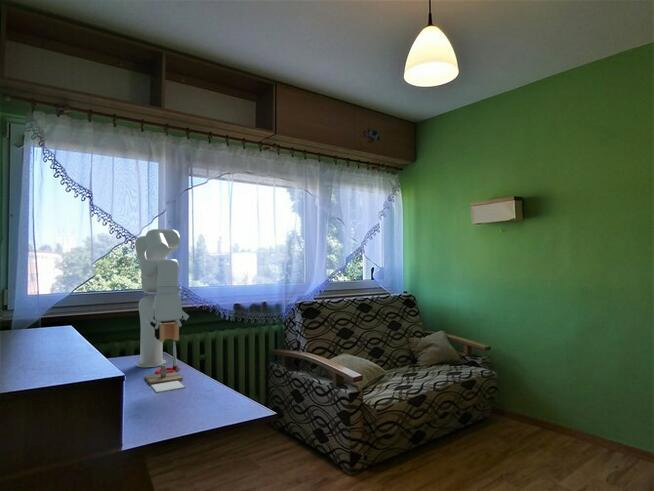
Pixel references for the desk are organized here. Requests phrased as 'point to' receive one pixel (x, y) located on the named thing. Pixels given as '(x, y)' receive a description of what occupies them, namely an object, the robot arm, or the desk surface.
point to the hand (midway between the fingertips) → (167, 337)
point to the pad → (167, 386)
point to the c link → (169, 331)
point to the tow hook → (175, 366)
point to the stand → (163, 377)
